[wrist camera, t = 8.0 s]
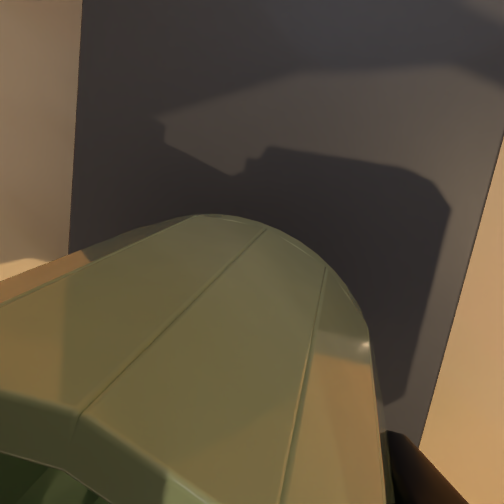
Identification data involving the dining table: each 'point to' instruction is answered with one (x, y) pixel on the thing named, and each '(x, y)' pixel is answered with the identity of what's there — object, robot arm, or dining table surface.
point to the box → (305, 145)
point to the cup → (189, 374)
